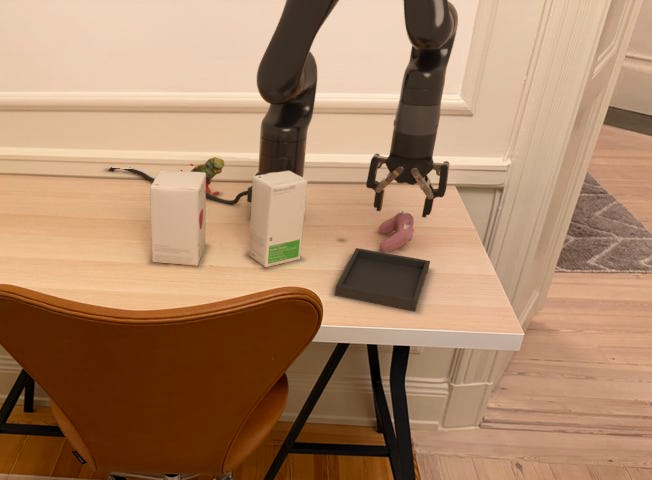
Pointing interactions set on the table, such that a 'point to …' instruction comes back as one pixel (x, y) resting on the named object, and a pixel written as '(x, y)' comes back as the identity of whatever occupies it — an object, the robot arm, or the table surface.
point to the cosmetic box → (277, 217)
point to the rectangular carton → (178, 217)
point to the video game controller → (397, 231)
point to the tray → (383, 279)
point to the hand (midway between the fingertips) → (401, 212)
